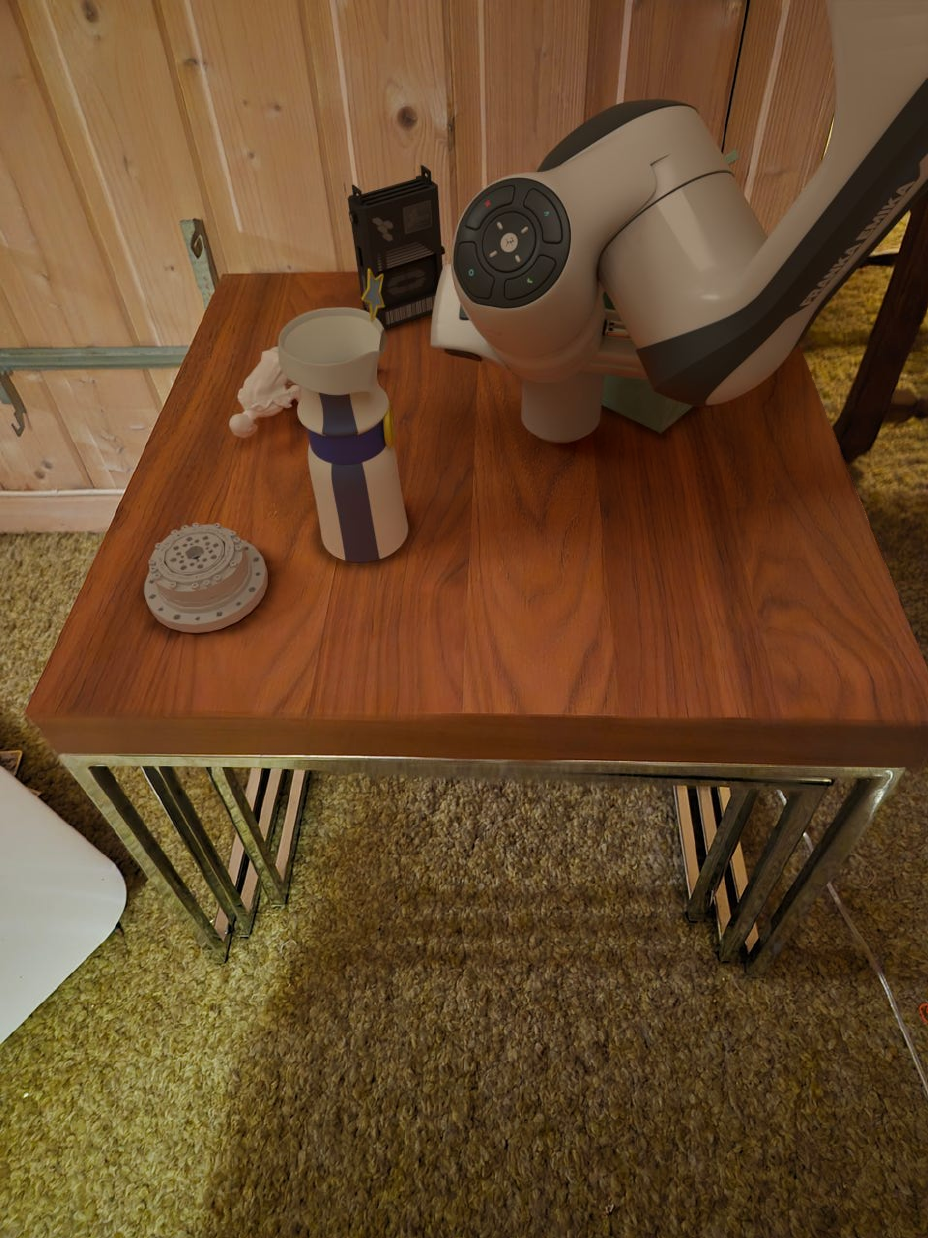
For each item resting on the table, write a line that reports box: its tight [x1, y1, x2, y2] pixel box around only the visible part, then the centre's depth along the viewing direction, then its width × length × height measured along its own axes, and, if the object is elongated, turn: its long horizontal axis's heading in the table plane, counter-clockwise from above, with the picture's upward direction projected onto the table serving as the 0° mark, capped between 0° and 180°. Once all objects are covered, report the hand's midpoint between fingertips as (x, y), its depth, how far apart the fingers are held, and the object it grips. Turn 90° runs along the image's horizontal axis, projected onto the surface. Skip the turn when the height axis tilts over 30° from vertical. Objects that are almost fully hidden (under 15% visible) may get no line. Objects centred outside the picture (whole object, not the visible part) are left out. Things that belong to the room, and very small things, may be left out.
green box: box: [601, 291, 694, 434], centre depth 83 cm, size 15×12×10 cm
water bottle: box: [277, 269, 409, 563], centre depth 65 cm, size 8×9×25 cm
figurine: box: [228, 345, 302, 439], centre depth 84 cm, size 7×8×18 cm
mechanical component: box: [143, 522, 269, 634], centre depth 69 cm, size 10×4×10 cm
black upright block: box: [347, 164, 446, 331], centre depth 91 cm, size 10×5×15 cm, turn 120°
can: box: [520, 371, 605, 444], centre depth 76 cm, size 8×8×12 cm
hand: (564, 359), depth 76 cm, fingers closed on can, 7 cm apart
